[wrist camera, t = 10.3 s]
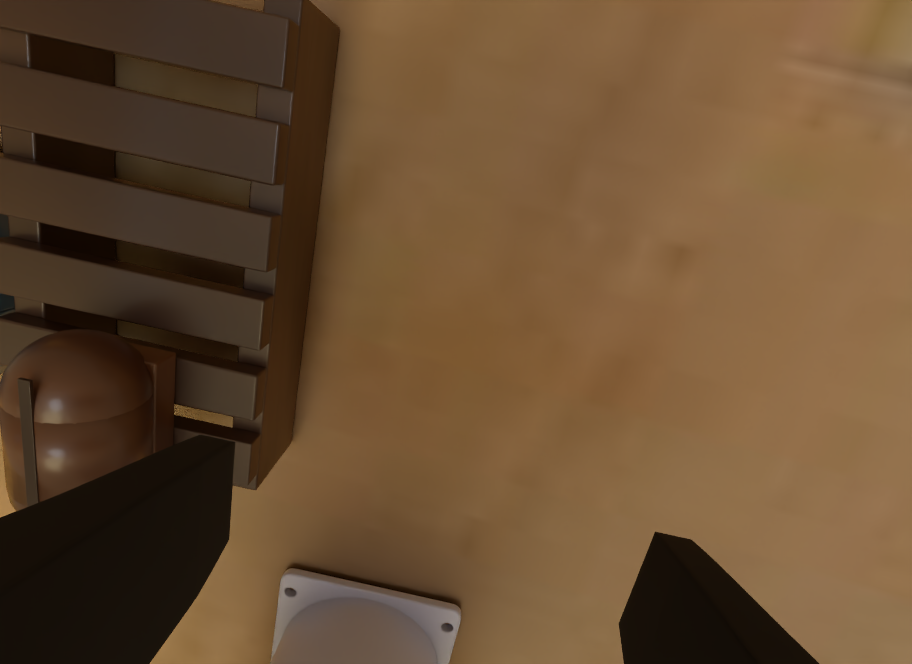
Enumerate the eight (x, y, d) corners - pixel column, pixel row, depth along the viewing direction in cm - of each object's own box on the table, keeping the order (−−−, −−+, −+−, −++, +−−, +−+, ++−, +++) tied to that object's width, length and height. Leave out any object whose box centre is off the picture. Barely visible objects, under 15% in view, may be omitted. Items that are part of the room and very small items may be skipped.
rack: (291, 443, 20) (246, 504, 17) (93, 399, 20) (4, 450, 17) (340, 27, 16) (292, -16, 12) (82, -29, 16) (-45, -90, 12)
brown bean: (175, 495, 17) (98, 574, 13) (75, 473, 17) (-26, 547, 14) (180, 328, 15) (93, 372, 12) (68, 303, 15) (-51, 341, 12)
